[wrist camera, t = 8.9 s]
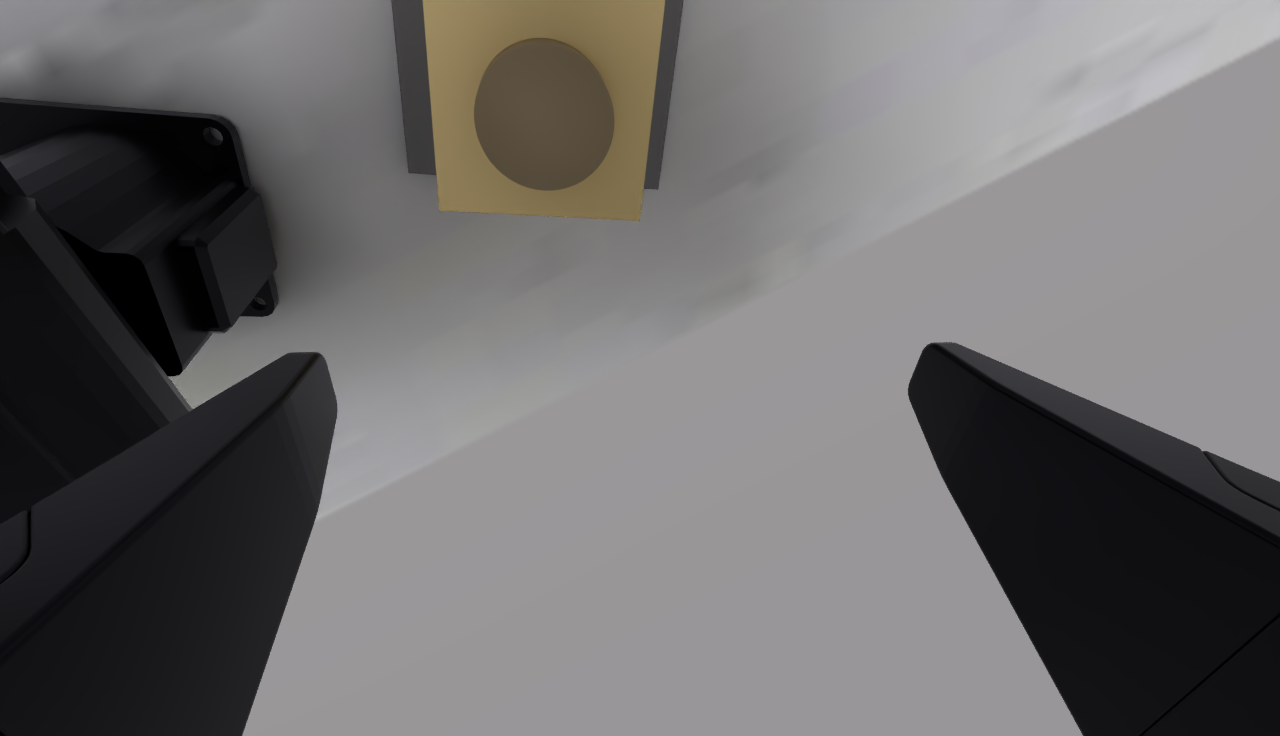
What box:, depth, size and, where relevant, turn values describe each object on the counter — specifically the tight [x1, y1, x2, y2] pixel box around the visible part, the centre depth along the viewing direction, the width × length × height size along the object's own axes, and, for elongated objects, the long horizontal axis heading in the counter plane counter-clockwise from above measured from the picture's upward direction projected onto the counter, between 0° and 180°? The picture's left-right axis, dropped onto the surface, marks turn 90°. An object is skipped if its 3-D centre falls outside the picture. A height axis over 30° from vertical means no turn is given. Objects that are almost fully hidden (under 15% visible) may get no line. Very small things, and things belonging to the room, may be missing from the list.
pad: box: [392, 0, 683, 189], centre depth 18 cm, size 8×8×1 cm
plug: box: [423, 0, 665, 221], centre depth 14 cm, size 4×4×9 cm
